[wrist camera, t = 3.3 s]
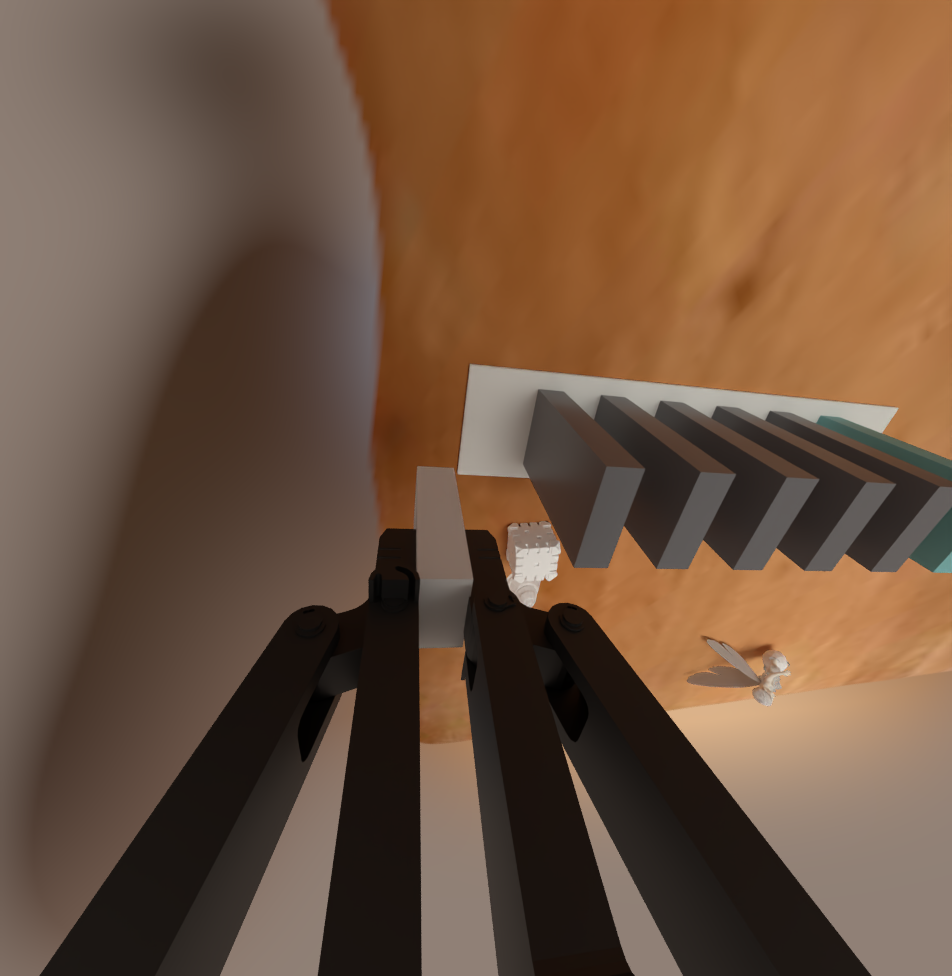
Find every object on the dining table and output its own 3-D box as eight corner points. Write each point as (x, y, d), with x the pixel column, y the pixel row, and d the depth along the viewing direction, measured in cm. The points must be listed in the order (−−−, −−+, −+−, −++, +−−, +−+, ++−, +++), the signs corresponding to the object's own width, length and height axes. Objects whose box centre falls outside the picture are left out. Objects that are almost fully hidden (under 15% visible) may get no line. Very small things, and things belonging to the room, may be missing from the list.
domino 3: (660, 400, 25) (787, 477, 16) (683, 402, 25) (819, 479, 17) (634, 470, 27) (733, 569, 19) (655, 472, 28) (762, 570, 19)
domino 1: (538, 389, 23) (606, 466, 15) (563, 391, 24) (645, 468, 15) (522, 464, 26) (573, 567, 17) (546, 465, 26) (607, 568, 18)
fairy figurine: (777, 678, 41) (763, 729, 37) (706, 639, 45) (686, 681, 41) (804, 639, 38) (792, 690, 34) (725, 602, 42) (705, 642, 38)
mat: (469, 363, 23) (470, 364, 22) (894, 406, 28) (898, 408, 27) (457, 471, 26) (457, 474, 26) (836, 492, 31) (840, 494, 31)
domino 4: (716, 405, 26) (866, 482, 17) (738, 407, 26) (896, 484, 17) (686, 473, 28) (804, 570, 19) (706, 475, 28) (831, 571, 20)
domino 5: (770, 410, 26) (939, 486, 18) (790, 412, 26) (967, 488, 18) (735, 476, 29) (870, 571, 20) (755, 477, 29) (896, 571, 20)
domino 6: (820, 415, 27) (1007, 490, 18) (840, 417, 27) (1033, 492, 19) (783, 479, 29) (932, 572, 21) (801, 480, 30) (956, 572, 21)
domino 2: (601, 394, 24) (700, 472, 16) (625, 397, 24) (736, 474, 16) (580, 467, 27) (656, 568, 18) (602, 469, 27) (687, 568, 18)
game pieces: (505, 521, 29) (514, 549, 26) (549, 518, 29) (563, 546, 26) (499, 632, 35) (506, 665, 32) (536, 629, 35) (545, 660, 33)
